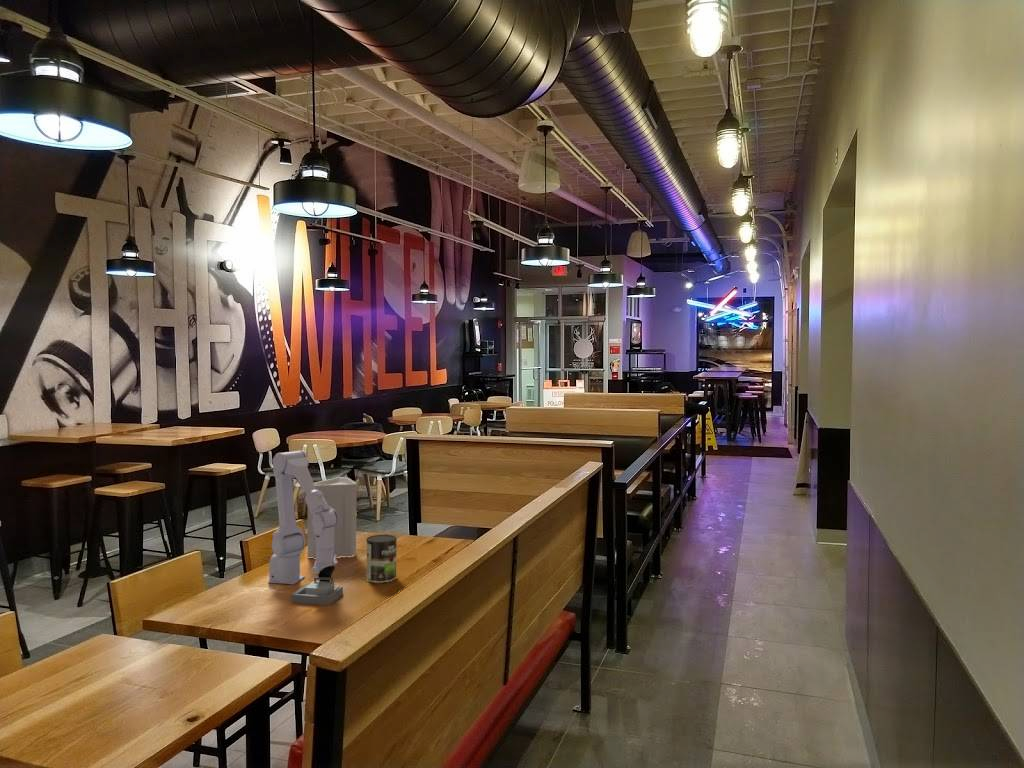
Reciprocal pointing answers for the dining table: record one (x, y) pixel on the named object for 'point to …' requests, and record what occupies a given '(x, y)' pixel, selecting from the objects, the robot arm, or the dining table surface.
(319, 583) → the box with handle
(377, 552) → the coffee can
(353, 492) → the tall upright grey box
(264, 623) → the dining table surface
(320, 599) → the bay
